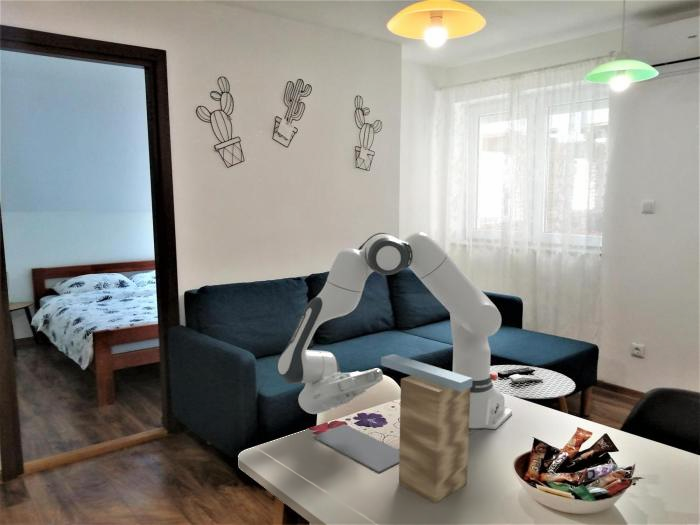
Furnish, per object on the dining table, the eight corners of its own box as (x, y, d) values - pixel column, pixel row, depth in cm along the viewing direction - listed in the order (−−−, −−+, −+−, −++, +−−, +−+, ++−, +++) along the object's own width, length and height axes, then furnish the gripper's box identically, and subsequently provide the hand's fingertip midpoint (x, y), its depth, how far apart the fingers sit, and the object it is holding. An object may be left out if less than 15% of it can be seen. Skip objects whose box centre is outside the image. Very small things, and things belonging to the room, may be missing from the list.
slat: (393, 361, 138) (393, 353, 138) (472, 386, 121) (472, 378, 121) (381, 365, 135) (381, 357, 135) (460, 391, 118) (460, 382, 118)
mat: (344, 425, 161) (344, 424, 161) (411, 457, 142) (411, 455, 142) (313, 437, 153) (313, 436, 153) (379, 473, 134) (379, 471, 134)
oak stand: (430, 466, 137) (433, 367, 134) (466, 483, 129) (470, 379, 126) (398, 483, 129) (400, 378, 126) (435, 503, 121) (438, 392, 118)
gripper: (305, 387, 146) (334, 374, 137) (359, 370, 160) (389, 357, 150) (312, 410, 145) (342, 398, 135) (367, 391, 158) (397, 379, 149)
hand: (368, 376), depth 143 cm, fingers open, 8 cm apart
